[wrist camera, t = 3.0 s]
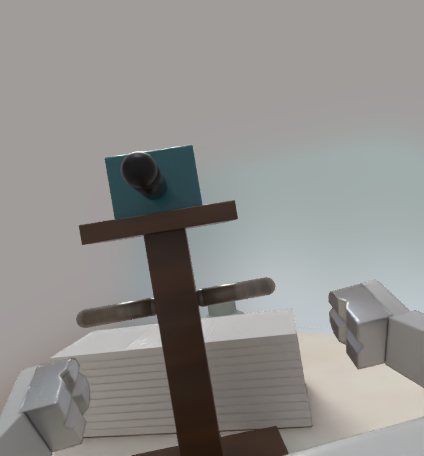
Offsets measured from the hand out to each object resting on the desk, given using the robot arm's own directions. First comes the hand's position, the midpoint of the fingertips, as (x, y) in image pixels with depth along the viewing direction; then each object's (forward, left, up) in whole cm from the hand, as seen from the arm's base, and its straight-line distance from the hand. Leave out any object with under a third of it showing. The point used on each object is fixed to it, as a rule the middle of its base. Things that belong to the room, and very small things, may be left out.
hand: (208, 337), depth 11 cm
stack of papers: (+36, +4, -21) cm, 42 cm away
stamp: (+16, +2, +5) cm, 17 cm away
